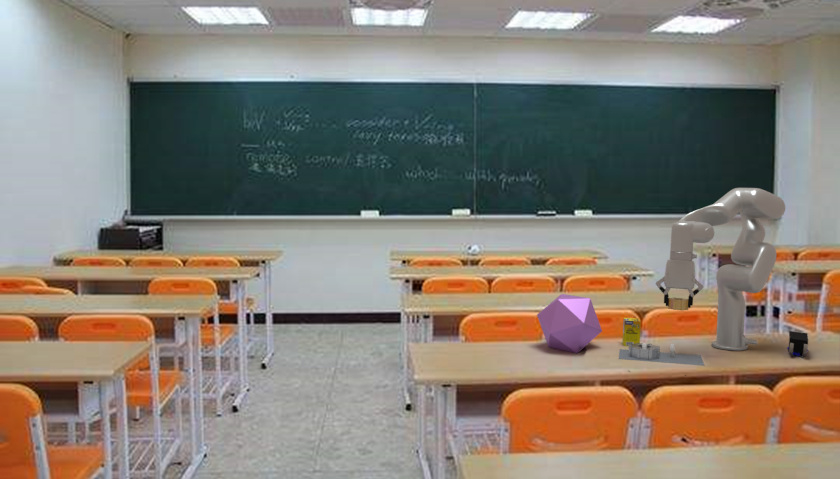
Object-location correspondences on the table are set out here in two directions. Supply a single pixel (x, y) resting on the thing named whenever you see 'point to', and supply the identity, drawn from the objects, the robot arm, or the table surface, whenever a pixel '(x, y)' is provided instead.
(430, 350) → the table surface
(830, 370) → the table surface
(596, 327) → the icosahedron
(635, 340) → the supplement box
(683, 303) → the bronze gear
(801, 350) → the figurine character
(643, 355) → the steel gear
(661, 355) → the gear board
